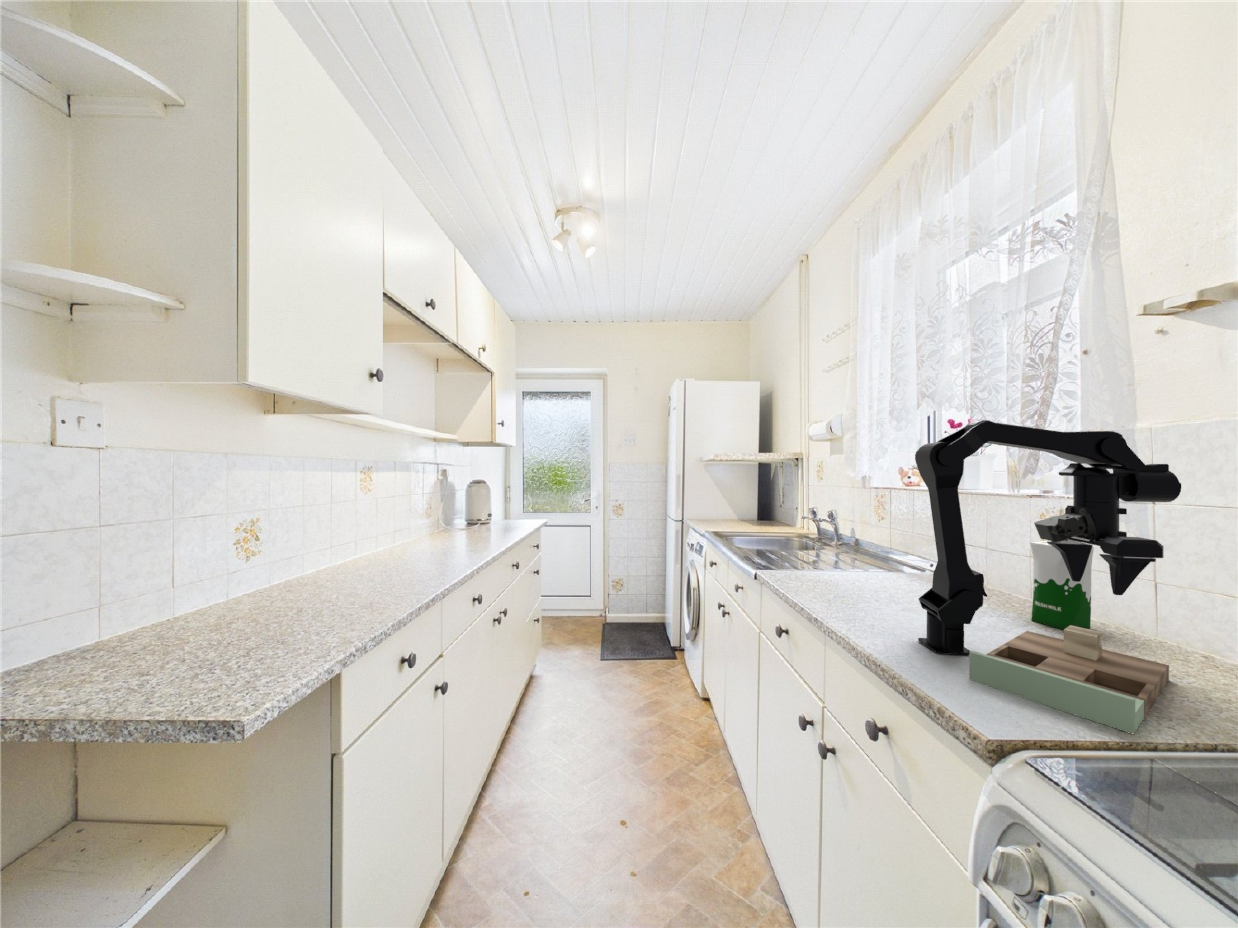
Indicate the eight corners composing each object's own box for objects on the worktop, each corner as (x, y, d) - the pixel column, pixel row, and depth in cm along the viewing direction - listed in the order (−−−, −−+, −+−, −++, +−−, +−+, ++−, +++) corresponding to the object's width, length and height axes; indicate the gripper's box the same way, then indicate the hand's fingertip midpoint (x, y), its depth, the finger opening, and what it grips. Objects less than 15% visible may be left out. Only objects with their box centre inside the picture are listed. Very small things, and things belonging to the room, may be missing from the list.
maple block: (1070, 647, 82) (1070, 625, 82) (1101, 655, 78) (1102, 632, 78) (1063, 652, 79) (1063, 629, 79) (1096, 660, 76) (1096, 636, 76)
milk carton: (1098, 629, 98) (1099, 537, 98) (1071, 633, 95) (1072, 538, 95) (1049, 616, 106) (1050, 531, 106) (1023, 619, 104) (1024, 532, 104)
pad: (985, 668, 78) (986, 642, 78) (1143, 718, 63) (1144, 686, 63) (969, 679, 74) (969, 651, 74) (1133, 734, 59) (1133, 700, 59)
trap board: (1026, 643, 90) (1026, 630, 90) (1168, 680, 75) (1168, 665, 75) (985, 668, 78) (985, 654, 78) (1143, 718, 63) (1144, 700, 63)
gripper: (1011, 497, 93) (1011, 573, 93) (1083, 505, 74) (1083, 599, 74) (1076, 498, 90) (1076, 576, 90) (1166, 506, 72) (1166, 604, 72)
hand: (1095, 587), depth 82 cm, fingers open, 9 cm apart
